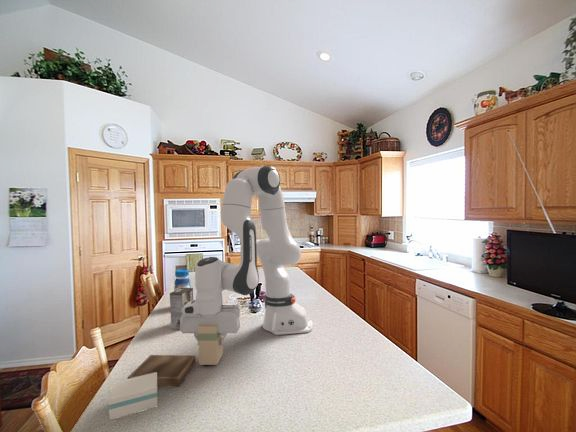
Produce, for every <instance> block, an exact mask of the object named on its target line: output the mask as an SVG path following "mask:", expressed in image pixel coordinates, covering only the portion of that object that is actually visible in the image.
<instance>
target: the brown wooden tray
mask: <svg viewBox="0 0 576 432" xmlns="http://www.w3.org/2000/svg"><path fill="white" fill-rule="evenodd" d="M196 360H197V359H196V355H189V354H188V355H186V354H185V355H184V354H182V355H181V354H178V355H177V354H176V355H175V354H173V355H172V354H150V355H149V356H148V357H147V358H145V360H144V361H143V362H142V363H141V364H140V365H139V366H137V368H136V369H134V370H133V371H132V372H131V373H130V374H129V375H128V376H127V378H126V379H130V378H134V377H138V376H142V375H146V374H151V373H155V372H157V387H165V386H179V387H181V385H182V384H183V382H184V381H185V379H186V377H187V376H188V375H187V374H189V373H190V372H191V370H192V369H193V367H194V366H195V364H196ZM180 384H181V385H180Z"/></svg>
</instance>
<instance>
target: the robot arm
mask: <svg viewBox="0 0 576 432" xmlns="http://www.w3.org/2000/svg"><path fill="white" fill-rule="evenodd" d="M253 196H257V197H258V200H259V201H258V203H259V204H258V205H259V213H260V214H259V215H260V221H261V222H260V223H261V228H262V229H263V231H265V233H266V235H267V236H268V237H266V238H262V239H260V240H258V241H257V230H256V229H257V228H256V226H255V223H254V222H253V221H252V220H253V219H252V214H251V213H252V199H253ZM222 197H223V198H222V202H221V208H220V220H221V222H222V224H223V225H224V226H225V228H227V229H228V230H229V231H231V232H232V233H234V234H235V235H236V236H237V237H238V239H239V243H240V264H238V263H237V264H236V263H231V262H226V261H223V260H221V259H219V257H217V256H216V257H215V256H209V257H204V258H202V259H200V260H199V261H198V262H197V263H196V266H195V270H194V272H195V273H194V284H195V285H194V287H195V289H196V296H195V299H193V301H190V302H189V303H187V304H186V305H185V306H184V307H183V308H182V313H183V314H182V316H181V319H180V329H179V331H180V332H181V333H182V334H193V337H194V338H195V340H196V341H197V346H199V341H198V326H199V325H207V324H217V330H218V333H222V338H220V340H219V345H223V346H224V345H225V338H226V337H227V335H228V334H237V333H238V332H239V330H240V328H241V322H240V320H241V319H240V315H241V311H240V308H239V307H238V306H236V305H235V304H230V305H229V304H223V291H225V290H226V291H229V292H234V293H237V294H239V295H241V296H248V295H250V294H252V293H253V292H254V291H255V290H256V289H257V287H258V285H259V282H260V276H259V269H258V259H259V262H260V265H261V267H262V270H263V276H264V283H265V284H264V286H265V293H264V301H263V302H264V308H265V311H264V317H263V322H262V328H263V329H264V330H265V331H268V332H270V333H272V334H273V335H274V336H279V335H290V334H291V335H292V334H303V333H310V332H311V331H312V330H313V328H314V323H313V320H312V319H311V318H310V317H309V316H308V314H307V313H308V312H307V311H306V309H305V308H304V307H303V306H302V305H300V304H298V303H297V302H296V301H297V300H296V299H297V298H296V297H295V294H294V293H291V277H290V275H289V273H288V272H287V271H286V268H285V267H290V266H295V265H297V264H298V263H299V262H300V260H301V258H302V249H301V247H300V245H299V244H298V243H297V242H296V241H295V239H294V238H293V236H292V233H291V232H290V229H289V226H288V220H287V214H286V213H287V212H286V206H285V205H286V204H285V199H284V194H283V192H282V188H281V176H280V172H279V171H278V170H277V169H276V168H275V167H274V166H270V165H264V166H254V167H251V168H247V169H242V170H239V171H237V172H236V173H235V174H234V176H233V177H232V179H230V180H229V181H228V182H227V184H226V187H225V188H224V193H223V196H222Z"/></svg>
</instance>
